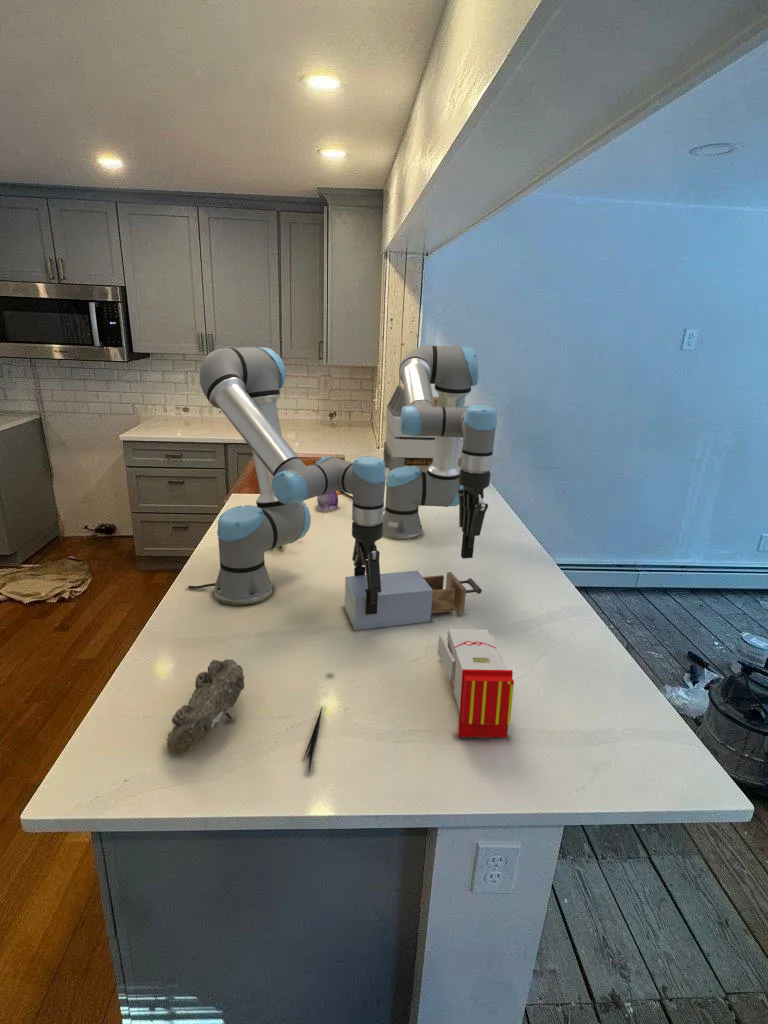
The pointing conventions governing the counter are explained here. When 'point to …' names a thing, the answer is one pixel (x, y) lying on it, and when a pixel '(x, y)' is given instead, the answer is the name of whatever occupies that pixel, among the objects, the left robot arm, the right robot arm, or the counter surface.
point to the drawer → (449, 593)
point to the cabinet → (389, 600)
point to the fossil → (206, 705)
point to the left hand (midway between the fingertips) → (364, 601)
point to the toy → (478, 682)
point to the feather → (313, 740)
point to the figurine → (327, 501)
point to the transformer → (406, 438)
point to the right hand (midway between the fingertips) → (466, 556)
